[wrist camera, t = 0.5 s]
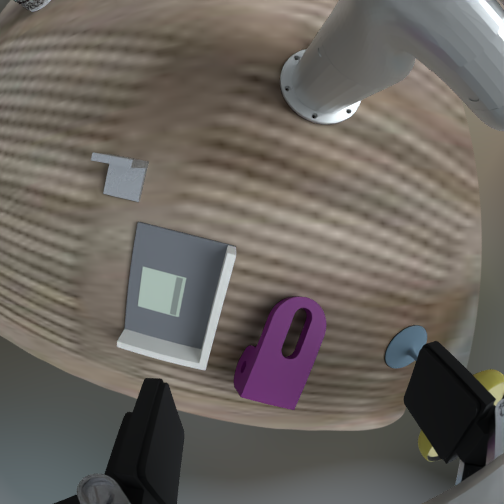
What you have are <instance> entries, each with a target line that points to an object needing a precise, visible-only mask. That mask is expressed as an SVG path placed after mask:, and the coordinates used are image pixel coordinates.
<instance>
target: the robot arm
mask: <svg viewBox="0 0 504 504" xmlns="http://www.w3.org/2000/svg"><path fill="white" fill-rule="evenodd" d="M500 2H501V3H502V4H503V5H504V0H500ZM415 58H416V59H418V60H419V61H420V62H421V63H423V64H424V65H425V66H426V67H427V68H428V69H429V70H431V71H433V72H434V73H435V74H436V75H437V76H438V77H439V78H441V79H442V80H443V81H444V82H445V83H446V84H447V85H448V86H449V87H450V88H451V89H452V90H453V91H454V92H455V93H456V94H457V95H458V97H459V98H460V99H461V100H462V101H463V102H464V103H465V104H466V105H467V106H468V107H469V108H470V109H471V110H472V112H473V113H474V114H475V115H476V116H477V117H478V118H479V119H480V120H481V121H483V122H484V123H485V124H486V125H488V126H490V127H491V128H494V129H496V130H499V131H504V10H503V8H502V7H501V6H500V4H499V3H498V2H497V1H496V0H339V1H338V3H337V4H336V6H335V8H334V9H333V11H332V12H331V14H330V15H329V17H328V18H327V20H326V21H325V23H324V24H323V26H322V27H321V29H320V30H319V32H318V33H317V34H316V36H315V37H314V39H313V40H312V42H311V43H310V45H309V47H308V48H307V49H305V50H301V51H299V52H297V53H295V54H293V55H292V56H291V57H290V58H289V59H288V60H287V61H286V63H285V64H284V66H283V68H282V71H281V74H280V87H281V91H282V94H283V97H284V99H285V100H286V102H287V104H288V105H289V106H290V107H291V108H292V110H293V111H295V112H296V113H297V114H298V115H299V116H301V117H303V118H304V119H306V120H309V121H311V122H314V123H318V124H328V125H329V124H336V123H339V122H342V121H344V120H346V119H348V118H349V117H351V116H352V115H353V114H354V113H355V112H356V110H357V109H358V107H359V105H360V102H361V100H363V99H365V98H367V97H369V96H371V95H373V94H375V93H377V92H379V91H382V90H384V89H386V88H388V87H390V86H392V85H394V84H396V83H398V82H400V81H402V80H403V79H404V78H405V77H406V76H407V75H408V74H409V73H410V71H411V70H412V68H413V65H414V63H415ZM295 59H297V60H295ZM285 89H288V91H286V90H285ZM346 111H347V112H348V113H347V112H346ZM312 115H313V116H314V117H315V118H312ZM495 400H496V398H495V397H494V396H493V395H492V394H491V393H490V392H489V391H488V390H487V389H486V388H485V387H484V386H483V385H482V384H481V383H480V382H479V381H478V380H477V379H476V378H475V377H474V376H473V375H472V374H471V373H470V372H469V371H468V370H467V369H466V368H465V367H464V366H463V365H462V364H461V363H460V362H459V361H458V360H457V359H456V358H455V357H454V356H453V355H452V354H451V353H450V352H449V351H448V350H446V349H445V348H444V347H443V346H442V345H441V344H440V343H439V342H437V341H434V342H431V343H428V344H425V345H423V347H422V349H421V350H420V351H419V354H418V357H417V361H416V364H415V367H414V370H413V373H412V376H411V379H410V382H409V385H408V388H407V390H406V393H405V396H404V404H405V406H406V407H407V408H408V410H409V411H410V413H411V414H412V416H413V417H414V419H415V420H416V422H417V423H418V425H419V427H420V428H421V430H422V431H423V433H424V434H425V436H426V437H427V439H428V440H429V442H430V444H431V445H432V447H433V448H434V450H435V451H436V453H437V455H438V456H439V458H440V459H444V461H445V462H446V464H447V463H449V462H451V461H453V460H454V459H456V458H457V457H458V456H459V458H460V465H459V470H458V474H457V479H456V484H455V486H454V487H452V488H451V489H449V490H447V491H445V492H443V493H442V494H440V495H438V496H436V497H434V498H432V499H430V500H428V501H427V502H425V503H423V504H504V399H501V400H500V401H499V402H498V403H497V404H496V406H495V405H494V402H495ZM183 444H184V429H183V427H182V424H181V421H180V418H179V415H178V412H177V409H176V406H175V403H174V400H173V397H172V394H171V391H170V388H169V385H168V383H164V382H163V380H162V379H156V378H146V379H145V380H144V382H143V385H142V387H141V390H140V393H139V396H138V399H137V401H136V405H135V407H134V410H133V412H127V413H126V414H125V416H124V418H123V421H122V424H121V426H120V429H119V432H118V435H117V438H116V441H115V444H114V447H113V450H112V453H111V456H110V459H109V462H108V465H107V468H106V471H105V475H104V474H91V475H88V476H86V477H85V478H83V479H82V480H81V481H80V482H79V484H78V486H77V495H74V496H72V497H69V498H67V499H65V500H62V501H59V502H57V503H54V504H177V496H178V486H179V477H180V468H181V460H182V452H183Z"/></svg>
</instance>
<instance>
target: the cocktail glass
mask: <svg viewBox="0 0 504 504" xmlns="http://www.w3.org/2000/svg"><path fill="white" fill-rule="evenodd" d="M426 341H427V333H426V330H425V329H424V328H423V327H421V326H418V325H415V326H410V327H408V328H406V329H404V330H402V331H401V332H400V333H398V334H397V335H396V336H395V337H394V338H393V340H392V341H391V342H390V344H389V346H388V348H387V350H386V354H385V360H386V363H387V364H388V366H390V367H392V368H401V367H404V366H407V365H408V364H410V363H412V362H413V361H414V360H415V361H417V357H418V354H419V351H420V350H421V349H422V347H423V345H425V344H426ZM473 376H474V377H475V378H476V379H477V380H478V381H479V382H480V383H481V384H482V385H483V386H484V387H485V388H486V389H487V390H488V391H489V392H490V393H491V394H492V395H493V396H494V397H495V398H496V400H495V402H494V405H495V406H496V404H497V403H498V402H499V401H500V400H501V399H504V375H503V374H502V373H500V372H498V371H497V370H493V369H492V370H491V369H490V370H485V371H481V372H479V373H476V374H474V375H473ZM418 446H419V450H420V452H421V454H422V455H423V456H424V458H425V459H426V460H428V461H430V462H434V461H438V460H441V459H440V458H439V456H438V455H437V453H436V451H435V450H434V448H433V447H432V445H431V444H430V442H429V440H428V439H427V437H426V436H425V434H424V433H423V431H422V430H421V432H420V435H419V439H418Z"/></svg>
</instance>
